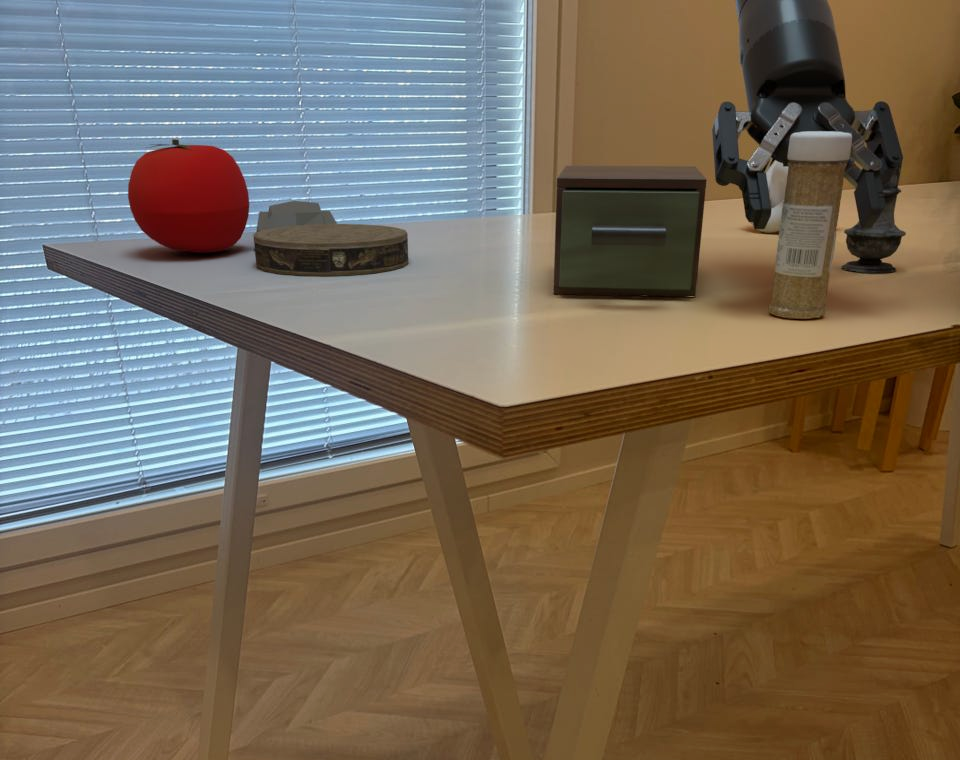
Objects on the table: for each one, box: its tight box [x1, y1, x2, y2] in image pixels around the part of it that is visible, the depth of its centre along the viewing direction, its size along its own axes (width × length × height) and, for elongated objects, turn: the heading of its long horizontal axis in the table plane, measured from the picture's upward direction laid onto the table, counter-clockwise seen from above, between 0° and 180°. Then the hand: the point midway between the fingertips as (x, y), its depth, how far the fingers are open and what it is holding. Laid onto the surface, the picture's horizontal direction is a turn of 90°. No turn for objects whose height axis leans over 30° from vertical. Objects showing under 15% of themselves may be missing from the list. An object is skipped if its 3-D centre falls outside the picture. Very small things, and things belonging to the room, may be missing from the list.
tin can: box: [253, 223, 409, 277], centre depth 107 cm, size 16×16×3 cm
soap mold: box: [253, 200, 338, 252], centre depth 125 cm, size 10×20×4 cm, turn 10°
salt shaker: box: [841, 159, 907, 274], centre depth 102 cm, size 6×6×12 cm
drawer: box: [559, 188, 700, 290], centre depth 92 cm, size 18×11×8 cm, turn 173°
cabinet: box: [552, 165, 708, 297], centre depth 96 cm, size 15×13×10 cm
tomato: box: [127, 138, 250, 254], centre depth 112 cm, size 12×14×11 cm
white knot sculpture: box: [749, 161, 788, 234], centre depth 129 cm, size 11×12×9 cm
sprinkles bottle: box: [768, 131, 852, 320], centre depth 81 cm, size 5×5×13 cm
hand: (817, 222), depth 79 cm, fingers open, 8 cm apart
